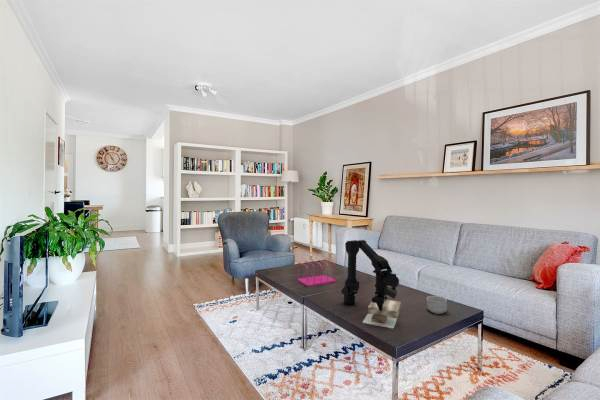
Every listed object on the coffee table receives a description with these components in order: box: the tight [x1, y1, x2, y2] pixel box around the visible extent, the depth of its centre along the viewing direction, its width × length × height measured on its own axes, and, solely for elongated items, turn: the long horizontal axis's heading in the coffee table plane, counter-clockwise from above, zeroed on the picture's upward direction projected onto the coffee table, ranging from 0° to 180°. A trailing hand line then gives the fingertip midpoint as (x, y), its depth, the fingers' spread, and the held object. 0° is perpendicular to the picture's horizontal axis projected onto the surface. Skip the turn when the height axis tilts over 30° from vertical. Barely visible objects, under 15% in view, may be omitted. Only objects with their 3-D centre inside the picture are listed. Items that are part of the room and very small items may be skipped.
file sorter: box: [296, 258, 337, 288], centre depth 237 cm, size 17×25×16 cm
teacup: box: [426, 295, 448, 315], centre depth 178 cm, size 14×11×8 cm
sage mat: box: [362, 313, 398, 329], centre depth 166 cm, size 16×13×1 cm
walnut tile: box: [371, 313, 387, 324], centre depth 165 cm, size 7×6×2 cm
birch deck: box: [367, 299, 402, 319], centre depth 179 cm, size 16×16×4 cm
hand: (380, 310), depth 167 cm, fingers closed
